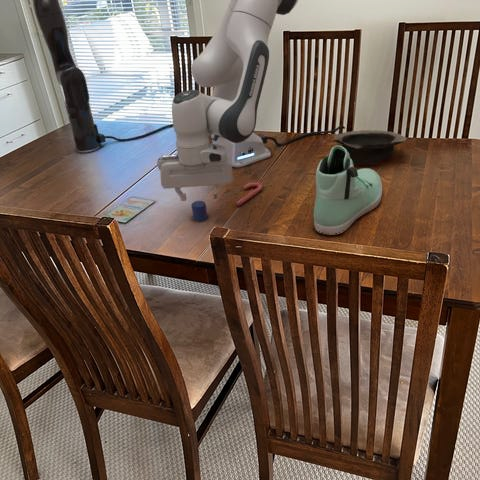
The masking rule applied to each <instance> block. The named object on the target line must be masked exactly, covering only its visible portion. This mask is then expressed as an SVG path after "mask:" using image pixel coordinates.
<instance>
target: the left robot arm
mask: <svg viewBox="0 0 480 480" xmlns="http://www.w3.org/2000/svg"><path fill="white" fill-rule="evenodd" d="M59 1H60V0H32V7H33V11H34V15H35V18H36V21H37V23H38V27H39V29H40V31H41V35H42V37H43V39H44V42H45V44H46V46H47V49H48V51H49V54H50V57H51V60H52V65H53V68H54V74H55V78H56V80H57V83H58V84H59V85H60V86H61V88H62V92H63V97H64V106H65V110H66V114H67V115H66V116H67V118H68V122H69V126H70V130H71V133H72V137H73V142H74V145H75V148H76V149H75V150H76V152H77V153H80V154H87V153H92V152H96V151H97V150H99V149H100V148H102V144H103V143H106V142H107V140H106V139H113V140H114V141H117V142H129V141H134V140H137V139H142V138H144V137H148V136H150V135H152V134H155V133H158V132H160V131H163V130H165V129H167V128H170V127H173V123H171V124H168V125H163V126H161V127H159V128H157V129H154V130H152V131H149V132H147V133H145V134H141V135H138V136H133V137H129V138H117V137H115V136H113V135H105V134H103V133H100V132H99V129H98V125H97V123H95V121H94V116H93V113H92V108H91V104H90V94H89V89H88V84H87V79H86V76H85V73H84V72H83V70H81V69H80V68H79V67H77V65H76V62H75V61H74V58H73V56H72V53H71V49H70V45H69V34H68V33H69V32H68V28H67V22H66V20H65V17H64V14H63V10H62V7H61V5H60V2H59Z"/></svg>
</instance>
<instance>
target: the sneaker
mask: <svg viewBox="0 0 480 480" xmlns="http://www.w3.org/2000/svg"><path fill="white" fill-rule="evenodd" d="M317 165H318V166H317V168H316V172H315V201H314V207H313V225H314V229H315V231H316V232H318V233H320V234H323V235H326V236H327V235H328V236H336V235H339V234H342V233H344V232H345V231H347V230H348V229H349V228H350V227H351V226H352V225H353V224H354V222H356V221H357V220H358V219H359V218H360V217H362V216H363V215H365V214H367V213H370V212H372V210H374V209H375V208H377V207H378V205H380V203H381V200H382V196H383V184H382V183H383V182H382V179H381V176H380V175H379V173H378V172H377V171H376V170H374V169H372V168H367V167H365V168H358V169H357V168H355V167H354V164H353V161H352V159H351V158H350V156H349V153H348V152H347V150H346V149H345V148H344V147H342V145H334V146H333V147H331V149H330V151H329V154H327V155H326V156H325V157H324V158H322V159H321V160H320V161H319V163H318V164H317ZM343 230H344V231H343ZM319 231H320V232H319ZM322 232H323V233H322ZM339 232H340V233H339ZM326 233H327V234H326ZM328 233H329V234H328ZM335 233H337V234H335Z"/></svg>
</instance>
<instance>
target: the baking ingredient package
mask: <svg viewBox="0 0 480 480" xmlns="http://www.w3.org/2000/svg"><path fill="white" fill-rule="evenodd" d="M153 203H155V201H154V200H150V199H145V198H137V197H130V198H129V199H128V200H125V201H123V203H122V204H120V205H119V206H117V207H115V208H114V209H112V210H111V211H110V212H108V213H107V214H105V215H104V216H106V217H114V218H115V219H116V220H117V221H116V222H120V223H127V222H129V221H130V220H131V219H132V218H134V217H135V216H137V215H138V214H140V213H141V212H142V211H143V210H145V209H146V208H148V207H149V206H150V205H152V204H153Z"/></svg>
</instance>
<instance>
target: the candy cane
mask: <svg viewBox="0 0 480 480" xmlns="http://www.w3.org/2000/svg"><path fill="white" fill-rule="evenodd" d="M249 188H255V189H253V190H252V191H250V192H249V193H247V194H246V195H244V196H243V197H241V199H239V200H237V201H236V203H235V205H236V206H238V207H239V206H241V205H242V204H244V203H245V202H247V201H248V200H250V199H251V198H252V197H253V196H255V195H257V194H258V193H260V192H261V191H262V190H263V184H261V183H259V182H255V181H253V182H248V183H246V184H244V186H243V189H244V190H248V189H249Z"/></svg>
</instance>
